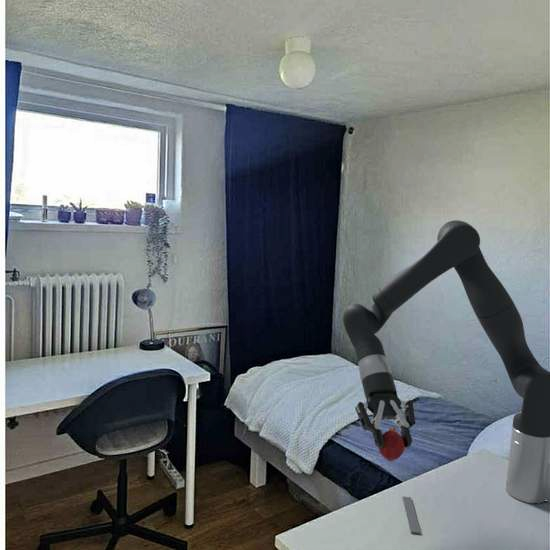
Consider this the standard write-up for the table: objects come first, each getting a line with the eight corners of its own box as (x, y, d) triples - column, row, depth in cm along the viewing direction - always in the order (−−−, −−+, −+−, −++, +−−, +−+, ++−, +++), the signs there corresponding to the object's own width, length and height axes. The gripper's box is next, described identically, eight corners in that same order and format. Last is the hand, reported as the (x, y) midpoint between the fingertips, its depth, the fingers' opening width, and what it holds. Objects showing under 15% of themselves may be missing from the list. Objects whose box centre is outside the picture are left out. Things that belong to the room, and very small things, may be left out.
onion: (403, 469, 108) (406, 434, 107) (376, 465, 109) (379, 431, 108) (402, 456, 114) (405, 423, 113) (377, 453, 115) (379, 420, 114)
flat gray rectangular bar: (410, 498, 121) (411, 497, 121) (420, 534, 107) (420, 532, 107) (402, 497, 121) (402, 496, 121) (411, 533, 108) (411, 531, 108)
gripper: (353, 371, 115) (370, 443, 105) (409, 369, 118) (431, 439, 108) (344, 385, 120) (359, 454, 110) (397, 383, 124) (417, 450, 114)
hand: (395, 446), depth 109 cm, fingers closed on onion, 5 cm apart
